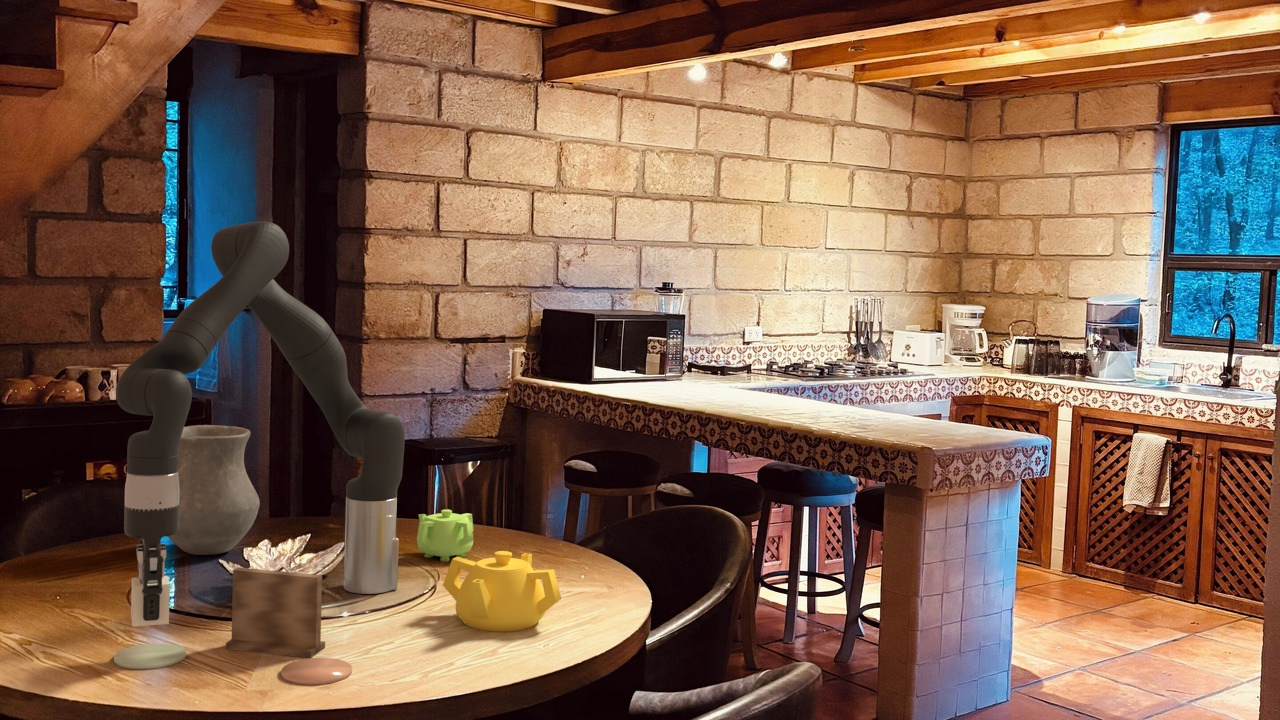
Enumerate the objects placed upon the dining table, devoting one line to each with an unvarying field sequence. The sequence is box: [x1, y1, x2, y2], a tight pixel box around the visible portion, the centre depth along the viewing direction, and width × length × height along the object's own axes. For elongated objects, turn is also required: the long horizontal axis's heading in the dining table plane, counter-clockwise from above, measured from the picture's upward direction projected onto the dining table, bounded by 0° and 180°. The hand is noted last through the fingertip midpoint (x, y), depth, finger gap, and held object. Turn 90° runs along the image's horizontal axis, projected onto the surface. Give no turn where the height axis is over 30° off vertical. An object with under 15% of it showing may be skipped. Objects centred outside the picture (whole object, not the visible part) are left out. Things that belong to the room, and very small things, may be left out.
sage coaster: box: [113, 642, 187, 670], centre depth 176 cm, size 10×10×1 cm
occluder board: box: [225, 567, 326, 659], centre depth 183 cm, size 14×5×12 cm, turn 80°
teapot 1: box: [416, 509, 474, 563], centre depth 245 cm, size 12×12×10 cm
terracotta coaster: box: [280, 657, 353, 686], centre depth 173 cm, size 10×10×1 cm
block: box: [130, 575, 171, 628], centre depth 176 cm, size 5×5×6 cm
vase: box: [167, 424, 260, 556], centre depth 240 cm, size 20×19×25 cm
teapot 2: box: [442, 550, 562, 633], centre depth 202 cm, size 17×17×12 cm
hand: (150, 614), depth 176 cm, fingers closed on block, 5 cm apart
